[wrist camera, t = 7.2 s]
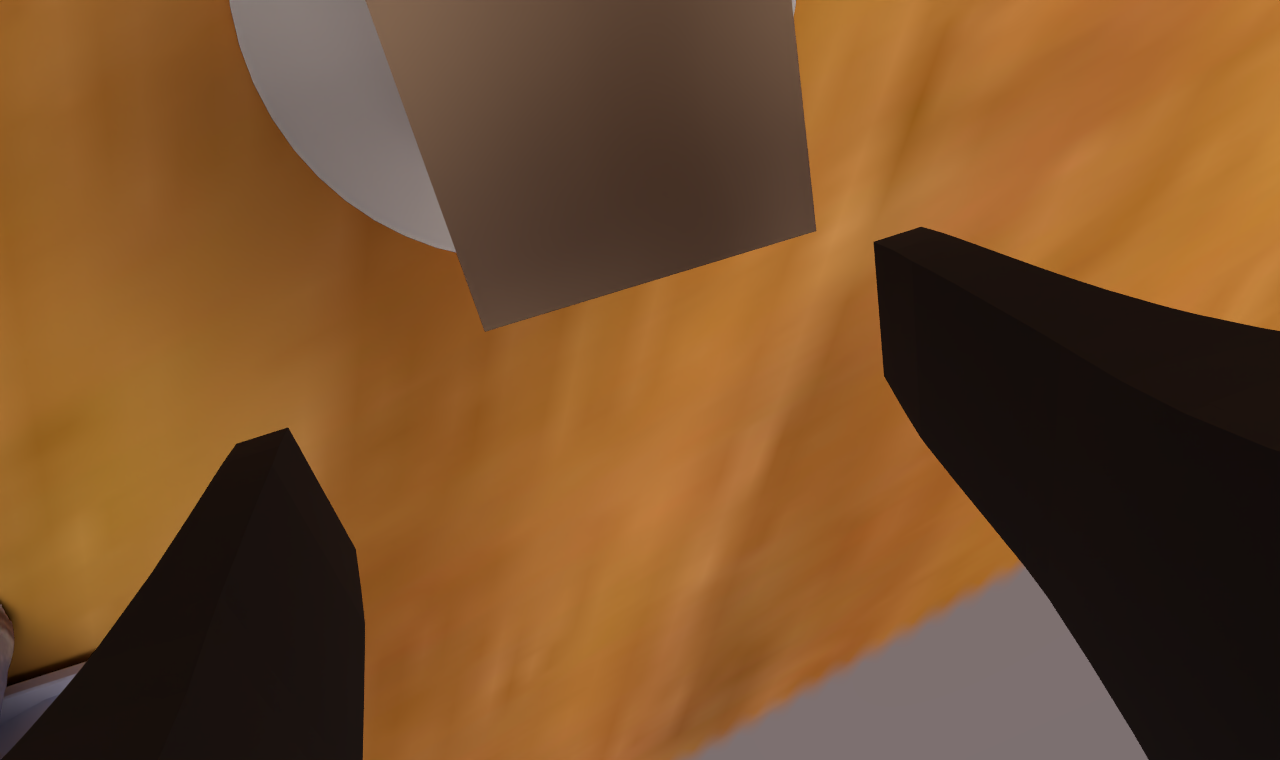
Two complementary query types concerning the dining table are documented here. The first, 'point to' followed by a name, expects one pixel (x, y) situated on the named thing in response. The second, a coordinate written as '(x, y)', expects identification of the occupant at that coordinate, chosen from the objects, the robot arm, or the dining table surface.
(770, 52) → the stool
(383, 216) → the plate
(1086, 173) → the dining table surface
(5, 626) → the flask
